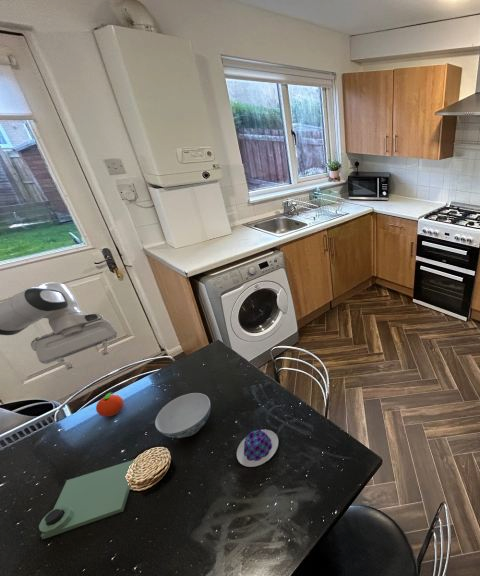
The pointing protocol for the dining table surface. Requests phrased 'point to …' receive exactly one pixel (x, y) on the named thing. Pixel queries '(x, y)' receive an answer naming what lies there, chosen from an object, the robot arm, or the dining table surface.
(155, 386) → the dining table surface
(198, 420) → the chinaware
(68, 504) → the scale
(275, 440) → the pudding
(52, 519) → the button
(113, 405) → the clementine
